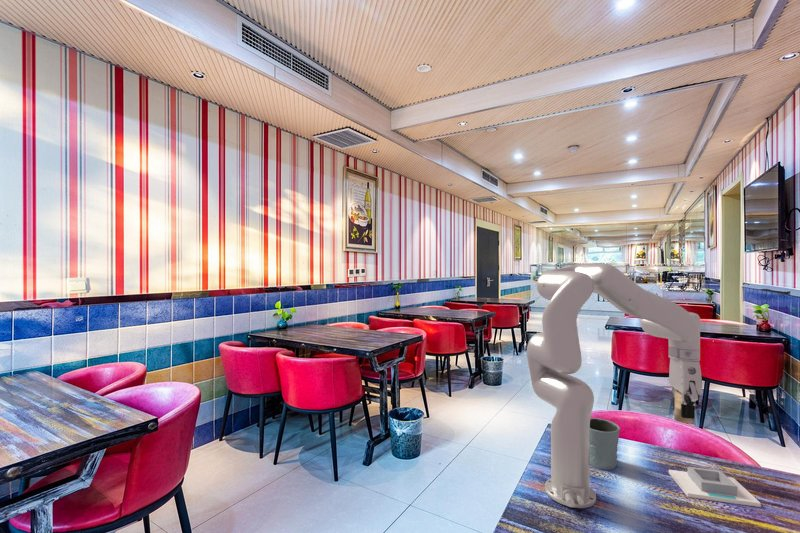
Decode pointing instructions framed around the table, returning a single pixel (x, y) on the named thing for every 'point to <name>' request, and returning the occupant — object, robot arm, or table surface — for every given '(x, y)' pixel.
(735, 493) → the white square-hole tray
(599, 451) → the grey cylindrical pot
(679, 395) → the barrel peg
